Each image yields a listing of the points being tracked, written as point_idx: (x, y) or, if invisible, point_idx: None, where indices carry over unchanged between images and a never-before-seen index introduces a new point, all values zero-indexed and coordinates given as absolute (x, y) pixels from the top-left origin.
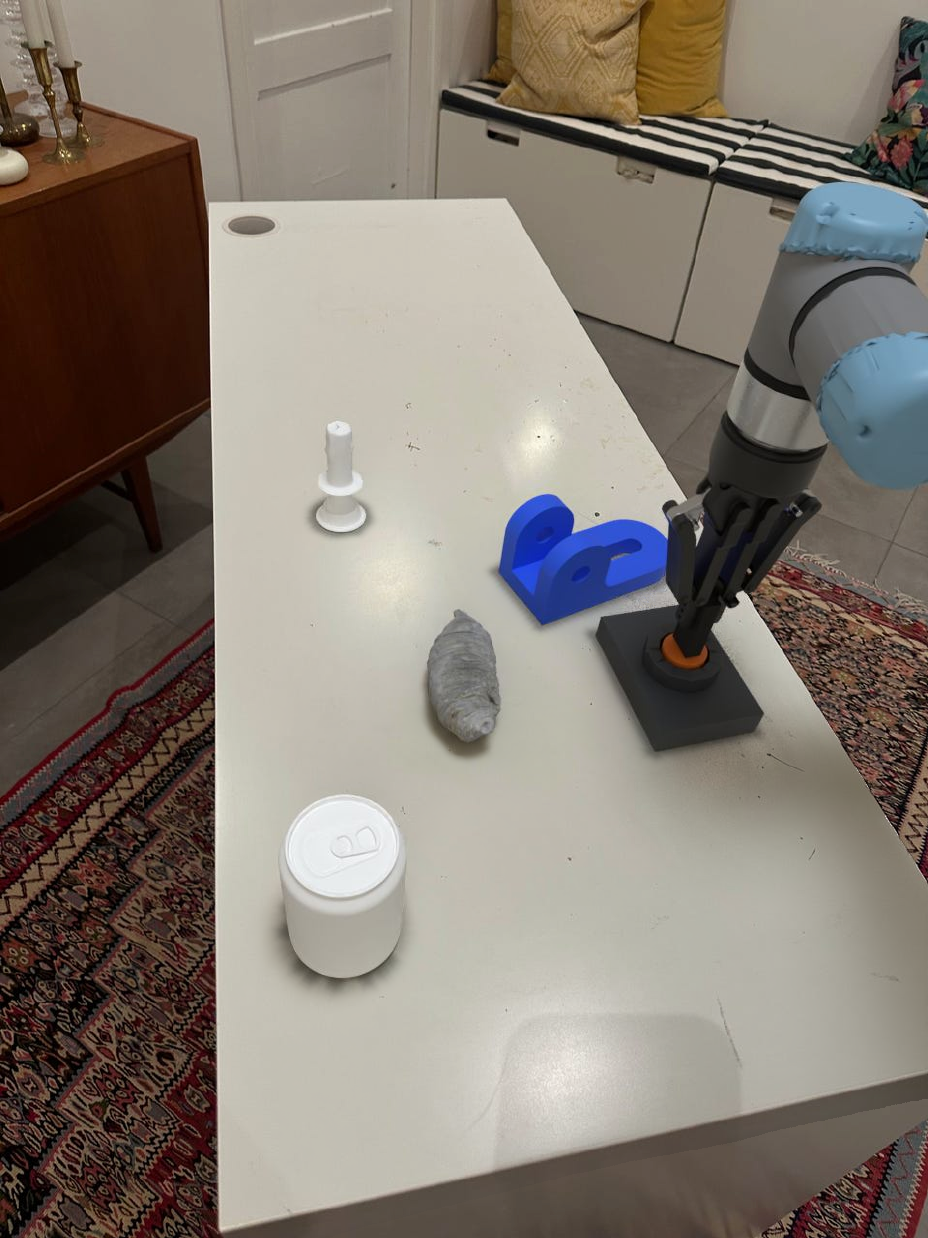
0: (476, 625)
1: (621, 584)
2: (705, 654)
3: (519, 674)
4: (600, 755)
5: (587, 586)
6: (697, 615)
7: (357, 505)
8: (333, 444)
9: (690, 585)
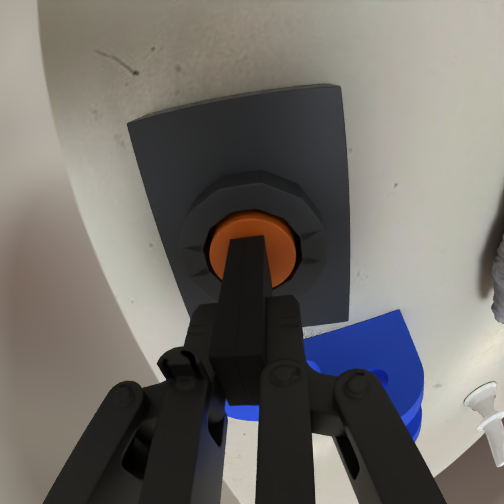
0: None
1: None
2: (216, 241)
3: (457, 242)
4: (413, 94)
5: (349, 362)
6: (265, 327)
7: (475, 405)
8: None
9: (364, 443)
